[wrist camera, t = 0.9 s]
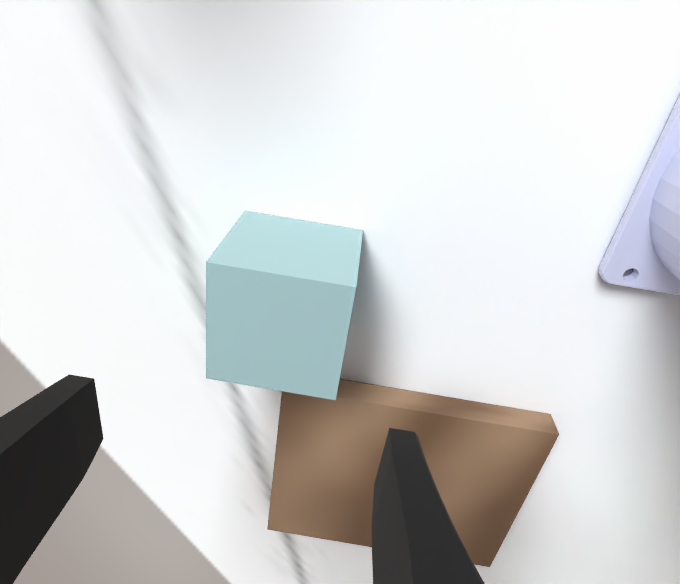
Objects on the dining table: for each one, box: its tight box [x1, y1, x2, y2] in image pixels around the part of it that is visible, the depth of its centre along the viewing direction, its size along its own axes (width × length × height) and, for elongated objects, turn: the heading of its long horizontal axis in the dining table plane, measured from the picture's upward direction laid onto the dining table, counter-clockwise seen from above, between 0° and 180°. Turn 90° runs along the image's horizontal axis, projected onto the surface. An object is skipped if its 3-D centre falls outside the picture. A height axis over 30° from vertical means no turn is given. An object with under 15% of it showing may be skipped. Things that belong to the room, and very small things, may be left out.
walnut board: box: [268, 379, 559, 567], centre depth 23 cm, size 12×10×1 cm
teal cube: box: [206, 211, 363, 400], centre depth 17 cm, size 4×4×4 cm
